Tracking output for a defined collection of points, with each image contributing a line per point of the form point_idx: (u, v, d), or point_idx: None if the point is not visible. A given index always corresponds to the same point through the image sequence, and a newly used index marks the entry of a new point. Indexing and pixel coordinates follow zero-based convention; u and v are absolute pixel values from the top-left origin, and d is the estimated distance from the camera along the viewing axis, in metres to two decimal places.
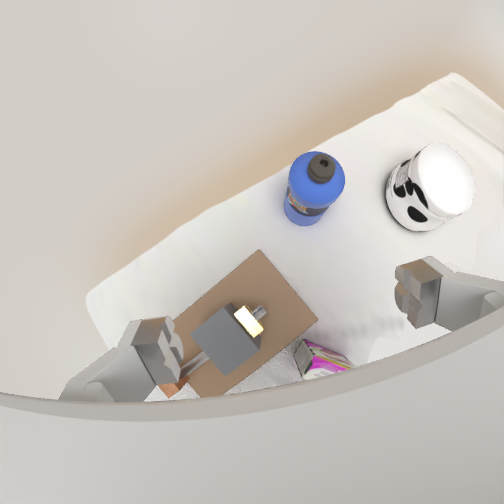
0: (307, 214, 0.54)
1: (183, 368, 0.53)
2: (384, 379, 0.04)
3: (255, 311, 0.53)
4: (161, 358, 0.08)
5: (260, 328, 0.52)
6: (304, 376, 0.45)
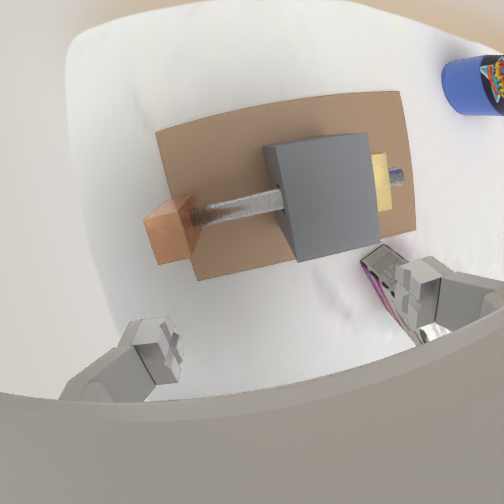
0: (495, 102, 0.23)
1: (209, 209, 0.26)
2: (384, 379, 0.04)
3: (391, 172, 0.26)
4: (161, 358, 0.08)
5: (388, 204, 0.26)
6: None
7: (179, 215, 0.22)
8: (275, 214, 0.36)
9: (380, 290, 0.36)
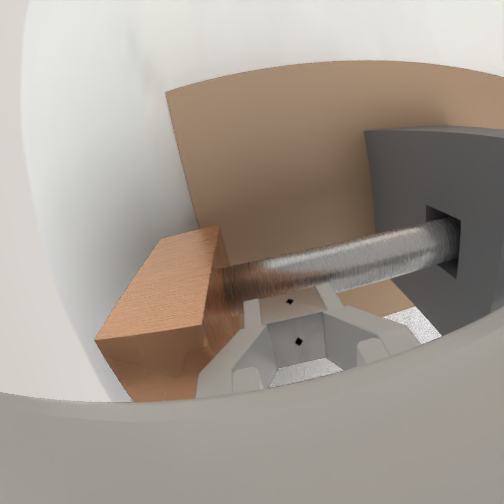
0: None
1: (271, 277, 0.11)
2: (384, 379, 0.04)
3: None
4: (294, 335, 0.08)
5: None
6: None
7: (207, 334, 0.07)
8: None
9: None
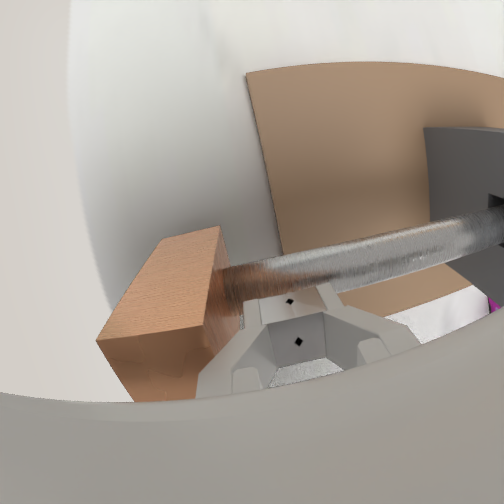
0: None
1: (272, 277, 0.11)
2: (384, 379, 0.04)
3: None
4: (294, 336, 0.08)
5: None
6: None
7: (208, 334, 0.07)
8: None
9: None
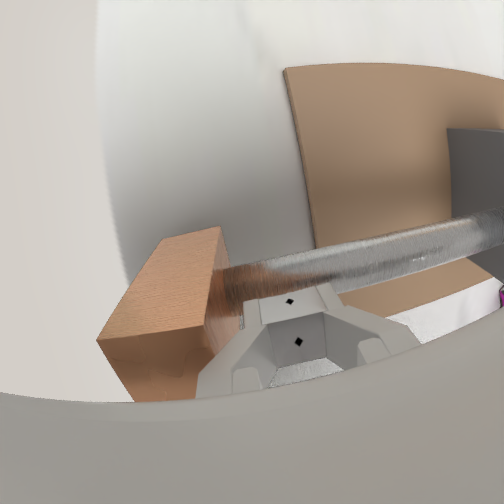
0: None
1: (272, 278, 0.11)
2: (384, 379, 0.04)
3: None
4: (294, 336, 0.08)
5: None
6: None
7: (208, 334, 0.07)
8: None
9: None
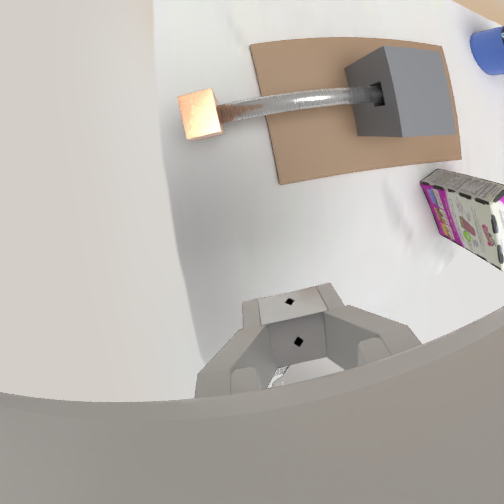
0: None
1: (235, 104, 0.26)
2: (385, 379, 0.04)
3: None
4: (293, 336, 0.08)
5: None
6: (492, 204, 0.24)
7: (212, 93, 0.22)
8: (355, 126, 0.35)
9: (442, 203, 0.36)
